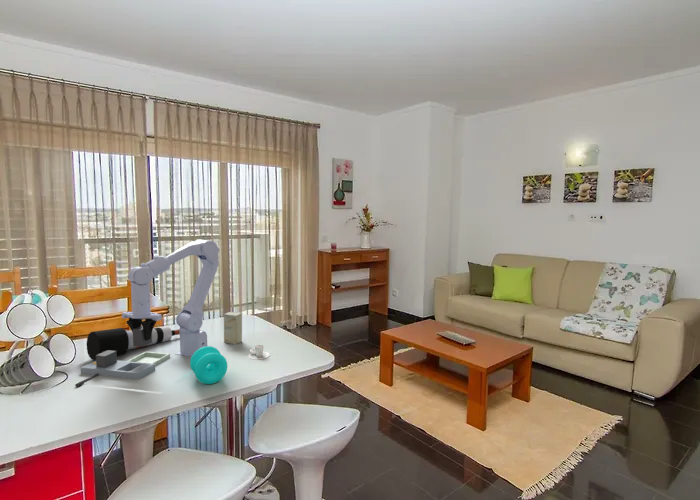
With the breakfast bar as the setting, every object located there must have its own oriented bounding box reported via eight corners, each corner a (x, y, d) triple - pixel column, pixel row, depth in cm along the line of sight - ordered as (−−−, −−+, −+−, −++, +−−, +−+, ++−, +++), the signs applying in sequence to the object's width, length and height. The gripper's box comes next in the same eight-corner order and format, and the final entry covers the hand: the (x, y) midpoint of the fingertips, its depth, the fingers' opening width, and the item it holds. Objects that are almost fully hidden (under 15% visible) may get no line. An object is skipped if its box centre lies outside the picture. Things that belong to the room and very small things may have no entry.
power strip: (155, 370, 137) (154, 352, 136) (119, 391, 121) (118, 371, 121) (100, 365, 141) (99, 347, 141) (59, 385, 126) (57, 365, 125)
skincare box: (223, 342, 166) (222, 314, 164) (230, 339, 170) (229, 311, 169) (236, 344, 164) (235, 315, 162) (242, 341, 168) (242, 312, 166)
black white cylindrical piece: (181, 348, 171) (189, 329, 169) (94, 365, 143) (102, 343, 141) (170, 334, 176) (177, 315, 174) (84, 347, 148) (91, 325, 146)
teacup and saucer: (247, 353, 155) (247, 343, 155) (268, 351, 158) (268, 341, 157) (249, 361, 147) (248, 350, 146) (271, 359, 149) (270, 348, 149)
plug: (152, 342, 143) (151, 325, 143) (142, 346, 138) (141, 329, 138) (143, 341, 144) (142, 325, 143) (133, 346, 139) (132, 329, 138)
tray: (170, 358, 148) (169, 353, 148) (151, 369, 138) (150, 364, 138) (145, 356, 150) (145, 351, 150) (125, 366, 140) (125, 361, 140)
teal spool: (220, 370, 138) (219, 342, 136) (228, 381, 129) (228, 351, 128) (189, 377, 132) (188, 348, 131) (196, 388, 124) (195, 357, 123)
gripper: (114, 302, 137) (116, 341, 139) (151, 305, 134) (152, 344, 136) (129, 298, 144) (131, 334, 145) (165, 300, 141) (166, 338, 142)
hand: (142, 339), depth 141 cm, fingers closed on plug, 3 cm apart
